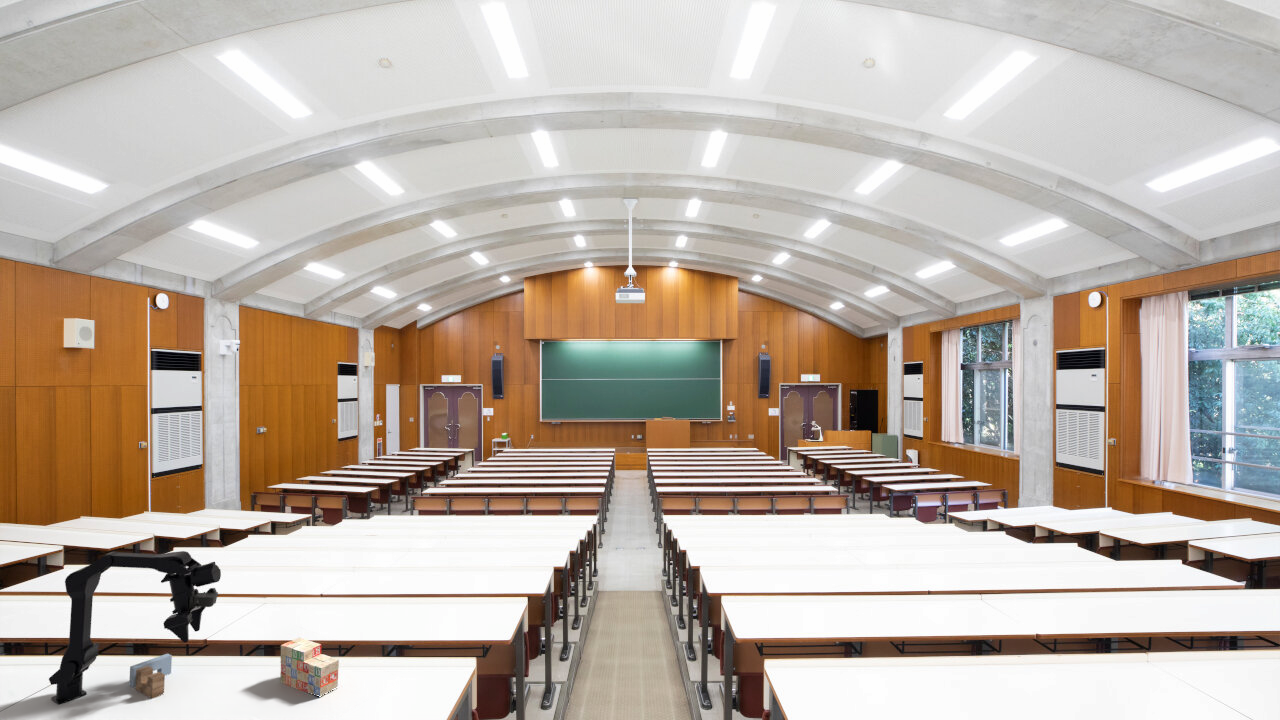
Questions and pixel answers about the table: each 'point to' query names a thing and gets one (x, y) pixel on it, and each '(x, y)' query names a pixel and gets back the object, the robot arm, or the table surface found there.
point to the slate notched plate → (157, 663)
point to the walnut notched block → (149, 682)
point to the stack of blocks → (308, 667)
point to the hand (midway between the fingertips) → (192, 636)
